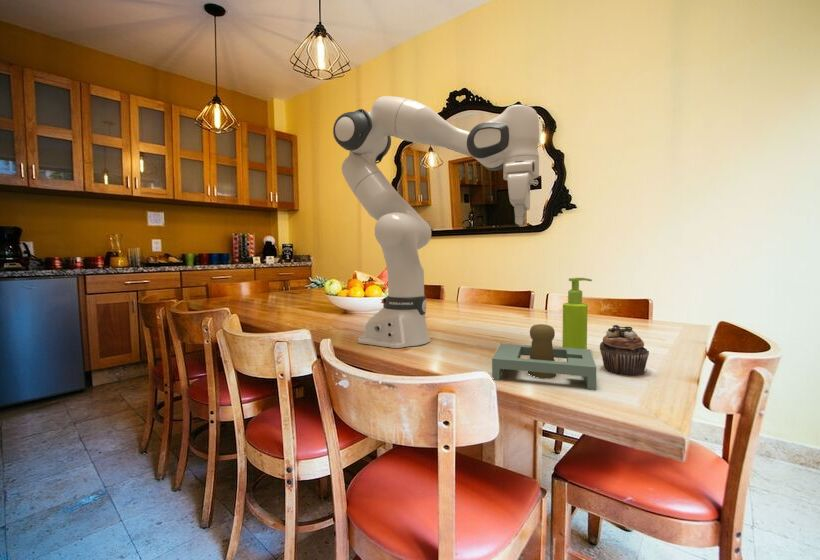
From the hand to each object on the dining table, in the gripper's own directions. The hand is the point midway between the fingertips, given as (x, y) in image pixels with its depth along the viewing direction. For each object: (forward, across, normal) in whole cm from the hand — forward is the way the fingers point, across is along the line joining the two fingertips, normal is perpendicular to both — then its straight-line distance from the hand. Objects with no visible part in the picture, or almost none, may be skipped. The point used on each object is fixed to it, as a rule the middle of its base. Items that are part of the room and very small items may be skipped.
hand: (520, 225), depth 97 cm
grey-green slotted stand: (+34, +16, +6) cm, 38 cm away
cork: (+34, +16, +6) cm, 38 cm away
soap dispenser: (+34, -4, +14) cm, 37 cm away
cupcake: (+34, +8, +23) cm, 42 cm away
